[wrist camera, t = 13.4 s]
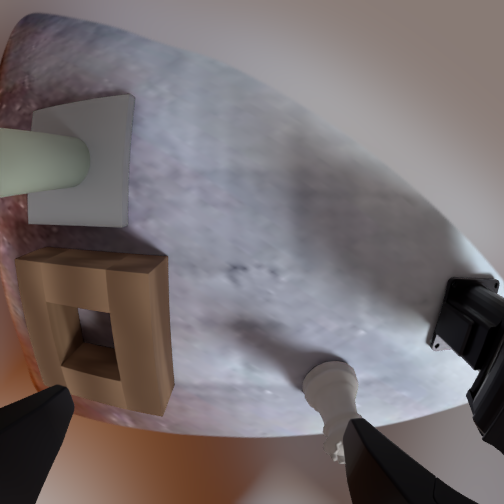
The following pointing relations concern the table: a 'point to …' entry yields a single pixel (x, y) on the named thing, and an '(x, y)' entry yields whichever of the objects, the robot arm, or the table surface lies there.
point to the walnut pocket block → (122, 321)
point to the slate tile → (101, 163)
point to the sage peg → (40, 162)
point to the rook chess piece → (333, 402)
